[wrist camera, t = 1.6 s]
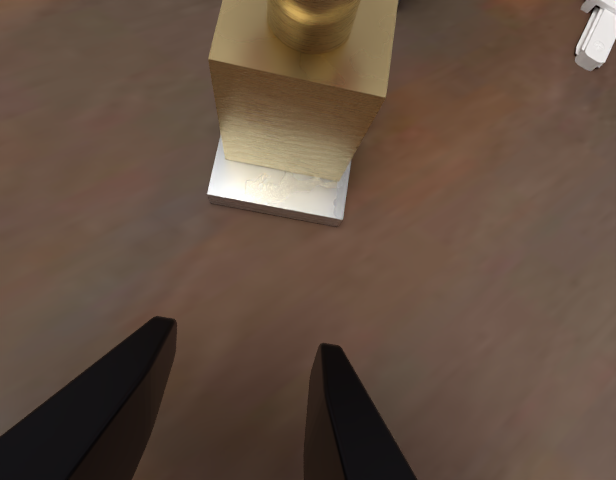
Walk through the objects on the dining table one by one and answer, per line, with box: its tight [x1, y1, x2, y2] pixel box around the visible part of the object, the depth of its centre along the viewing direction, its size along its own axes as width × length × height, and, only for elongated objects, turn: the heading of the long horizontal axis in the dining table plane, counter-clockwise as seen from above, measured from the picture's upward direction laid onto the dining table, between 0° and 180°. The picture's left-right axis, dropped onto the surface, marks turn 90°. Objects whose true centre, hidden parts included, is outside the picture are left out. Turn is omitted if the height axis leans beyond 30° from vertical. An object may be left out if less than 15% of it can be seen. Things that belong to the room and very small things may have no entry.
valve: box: [208, 0, 398, 182], centre depth 16 cm, size 8×6×13 cm
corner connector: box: [575, 0, 616, 71], centre depth 28 cm, size 8×8×2 cm
